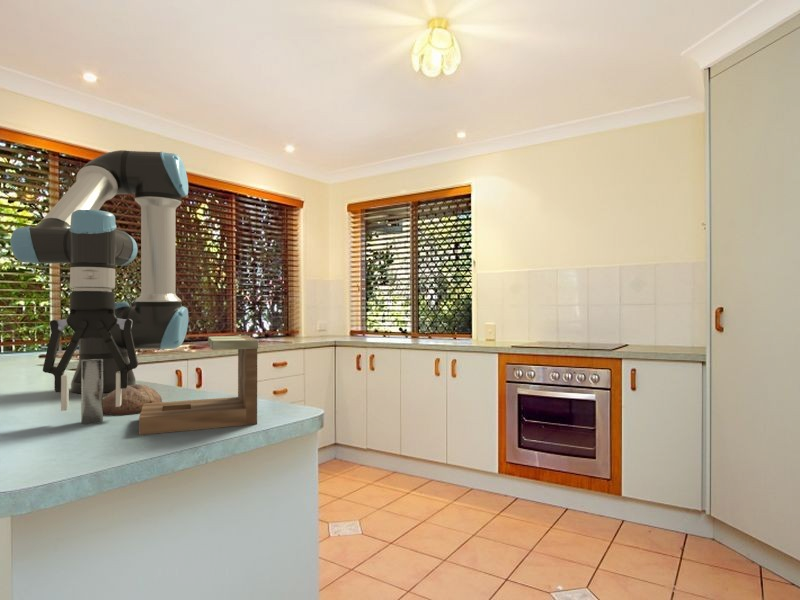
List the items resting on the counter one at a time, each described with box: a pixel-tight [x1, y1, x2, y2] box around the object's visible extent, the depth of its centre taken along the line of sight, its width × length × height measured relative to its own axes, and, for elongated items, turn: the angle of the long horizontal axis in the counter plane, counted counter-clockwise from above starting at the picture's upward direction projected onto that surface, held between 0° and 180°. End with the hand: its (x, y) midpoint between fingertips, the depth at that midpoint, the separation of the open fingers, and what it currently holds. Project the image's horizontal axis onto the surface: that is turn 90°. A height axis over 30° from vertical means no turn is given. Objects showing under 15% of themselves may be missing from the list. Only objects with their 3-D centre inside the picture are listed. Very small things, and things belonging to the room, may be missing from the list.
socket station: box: [138, 335, 259, 436], centre depth 99 cm, size 16×20×16 cm
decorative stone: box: [103, 383, 163, 416], centre depth 110 cm, size 12×12×6 cm
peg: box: [80, 359, 104, 425], centre depth 98 cm, size 4×4×12 cm
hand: (92, 407), depth 98 cm, fingers open, 8 cm apart
